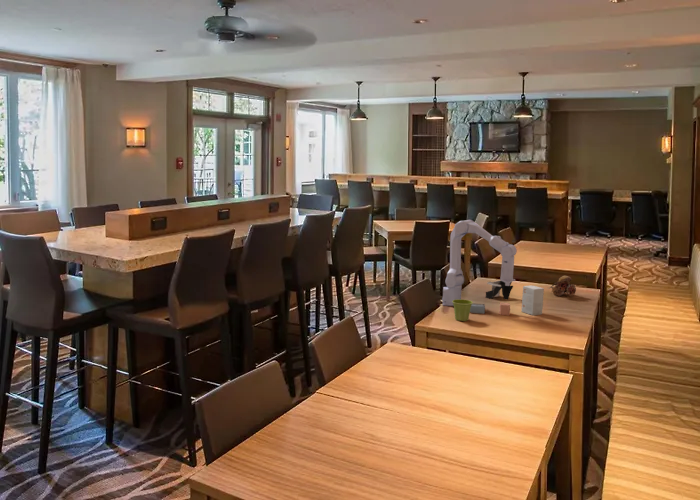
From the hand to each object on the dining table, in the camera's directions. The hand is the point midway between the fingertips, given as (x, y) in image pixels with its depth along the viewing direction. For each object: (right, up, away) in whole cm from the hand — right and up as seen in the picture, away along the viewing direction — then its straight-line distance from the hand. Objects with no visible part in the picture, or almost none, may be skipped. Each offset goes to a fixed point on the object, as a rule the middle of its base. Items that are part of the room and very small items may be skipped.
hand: (505, 297), depth 298 cm
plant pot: (-23, -10, -12) cm, 28 cm away
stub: (0, -8, +1) cm, 8 cm away
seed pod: (+43, -3, +45) cm, 62 cm away
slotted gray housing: (-14, -7, +4) cm, 16 cm away
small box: (+14, -8, +4) cm, 17 cm away
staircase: (+5, -4, +35) cm, 35 cm away
